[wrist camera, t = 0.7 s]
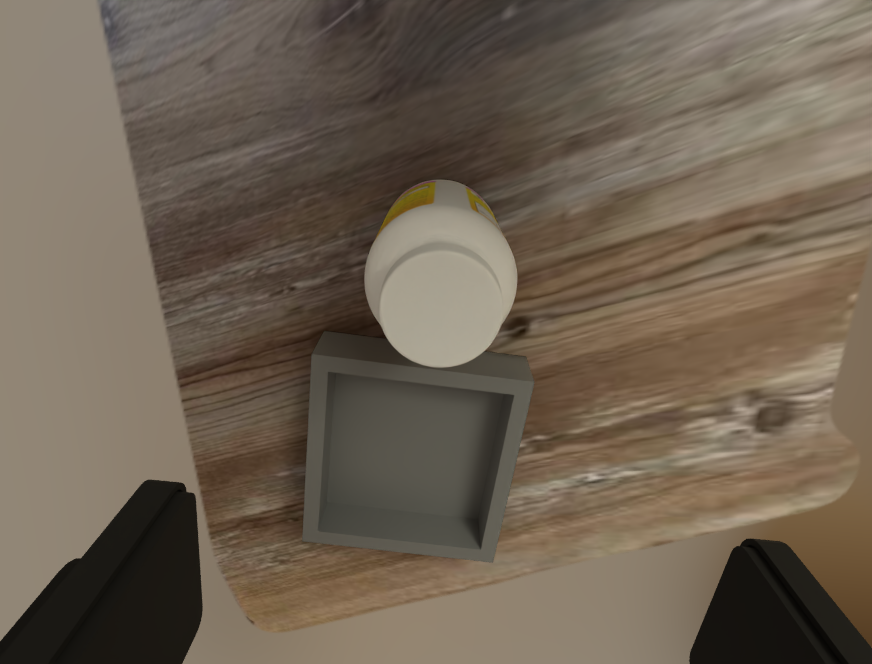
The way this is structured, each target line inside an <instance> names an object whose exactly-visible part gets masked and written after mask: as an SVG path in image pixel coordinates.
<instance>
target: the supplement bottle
mask: <svg viewBox="0 0 872 664" xmlns="http://www.w3.org/2000/svg"><path fill="white" fill-rule="evenodd" d="M364 282H365V293H366V297H367V300H368V304H369V306H370V309H371V311H372V313H373V315H374V317H375V318H376V320H377V321H378V322H379V324H380V325H381V327H382V329H383V332H384V334H385V336H386V338H387V339H388V341H389V342H390V343H391V345H392V346H393V347H394V348H395V349H396V350H397V351H398V352H399V353H400V354H402V355H403V356H405V357H406V358H408V359H409V360H411V361H413V362H416V363H418V364H421V365H424V366H429V367H439V368H443V367H452V366H457V365H461V364H464V363H466V362H469V361H471V360H473V359H474V358H476V357H477V356H479V355H480V354H481V353H483V352H484V351H485V350H486V349H487V348H488V347H489V346H490V344H491V343H492V342H493V340H494V339H495V337H496V335H497V334H498V331H499V329H500V327H501V324H502V323H503V322H504V320H505V319H506V317H507V316H508V314H509V312H510V310H511V307H512V305H513V302H514V298H515V295H516V289H517V269H516V263H515V259H514V256H513V254H512V251H511V248H510V246H509V244H508V242H507V240H506V238H505V237H504V235H503V233H502V231H501V228H500V227H499V225H498V223H497V221H496V219H495V217H494V214H493V213H492V211H491V209H490V207H489V206H488V205H487V203H486V202H485V201H484V200H483V198H482V197H481V196H480V195H479V194H477V193H476V192H475V191H474V190H472V189H471V188H469V187H467V186H466V185H463V184H461V183H458V182H455V181H451V180H430V181H425V182H422V183H419V184H417V185H415V186H413V187H411V188H409V189H408V190H406V191H405V192H404V193H403V194H402V195H400V197H399V198H398V199H397V200H396V201H395V202H394V204H393V205H392V207H391V208H390V210H389V212H388V213H387V215H386V217H385V220H384V222H383V224H382V226H381V228H380V230H379V232H378V234H377V236H376V239H375V241H374V243H373V245H372V247H371V249H370V252H369V254H368V258H367V261H366V266H365V276H364Z"/></svg>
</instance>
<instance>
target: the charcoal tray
mask: <svg viewBox="0 0 872 664" xmlns="http://www.w3.org/2000/svg"><path fill="white" fill-rule="evenodd" d="M533 386H534V379H533V376H532V373H531V370H530V367H529V364H528V361H527V358H526V357H525V356H517V355H509V354H501V353H493V352H486V351H484V352H483V353H481V354H480V355H479V356H477V357H476V358H474V359H473V360H471V361H469V362H466V363H464V364H461V365H457V366H452V367H443V368H439V367H429V366H424V365H421V364H418V363H416V362H413V361H411V360H409V359H408V358H406V357H405V356H403V355H402V354H400V353H399V352H398V351H397V350H396V349H395V348H394V347H393V346H392V345H391V343H390V342H389V341H388V339H384V338H376V337H368V336H360V335H352V334H344V333H337V332H329V331H324V332H323V334H322V336H321V338H320V339H319V341H318V343H317V345H316V347H315V349H314V351H313V352H312V356H311V376H310V397H309V417H308V437H307V457H306V477H305V497H304V517H303V537H302V541H305V542H314V543H322V544H331V545H340V546H349V547H358V548H367V549H376V550H385V551H394V552H403V553H412V554H421V555H430V556H438V557H447V558H456V559H465V560H474V561H483V562H492V563H493V560H494V556H495V551H496V547H497V543H498V538H499V534H500V530H501V525H502V521H503V517H504V512H505V508H506V504H507V499H508V495H509V491H510V486H511V482H512V478H513V473H514V469H515V464H516V460H517V456H518V451H519V447H520V443H521V438H522V434H523V430H524V425H525V421H526V417H527V412H528V408H529V404H530V399H531V395H532V391H533Z"/></svg>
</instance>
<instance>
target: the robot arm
mask: <svg viewBox="0 0 872 664" xmlns="http://www.w3.org/2000/svg"><path fill="white" fill-rule="evenodd" d="M201 617H202V592H201V575H200V559H199V544H198V528H197V512H196V498H195V495H194V493H188V492H186V487H185V485H184V484H183V483H179V482H169V481H159V480H147V481H145V482H144V483H143V484H141V486H140V487H139V488H138V489H137V490H136V492H135V493H134V494H133V496H132V497H131V498H130V499H129V500H128V502H127V503H126V504H125V505H124V507H123V508H122V509H121V510H120V511H119V513H118V514H117V515H116V516H115V517H114V519H113V520H112V521H111V522H110V524H109V525H108V526H107V527H106V529H105V530H104V531H103V532H102V533H101V535H100V536H99V537H98V538H97V540H96V541H95V542H94V543H93V544H92V546H91V547H90V548H89V549H88V551H87V552H86V553H85V554H84V556H83V557H82V558H81V559H74V560H72V561H70V562H69V563H67V564H66V565H65V566H64V567H63V568H62V569H61V570H60V571H59V572H58V573H57V575H56V576H55V577H54V578H53V579H52V580H51V582H50V583H49V584H48V585H47V586H46V588H45V589H44V590H43V591H42V592H41V594H40V595H39V596H38V597H37V598H36V600H35V601H34V602H33V603H32V604H31V605H30V607H29V608H28V609H27V610H26V611H25V613H24V614H23V615H22V616H21V617H20V619H19V620H18V621H17V622H16V623H15V625H14V626H13V627H12V628H11V629H10V631H9V632H8V633H7V634H6V635H5V636H4V638H3V639H2V640H1V641H0V664H182V663H183V661H184V659H185V656H186V654H187V652H188V650H189V648H190V646H191V644H192V642H193V639H194V637H195V635H196V633H197V631H198V628H199V625H200V622H201ZM689 661H690V664H872V648H871V647H870V645H869V644H868V643H867V642H866V640H865V639H864V638H863V637H862V635H861V634H860V633H859V632H858V631H857V629H856V628H855V627H854V626H853V624H852V623H851V622H850V621H849V620H848V618H847V617H846V616H845V614H844V613H843V612H842V611H841V610H840V608H839V607H838V606H837V605H836V603H835V602H834V601H833V600H832V598H831V597H830V596H829V595H828V594H827V592H826V591H825V590H824V589H823V587H822V586H821V585H820V584H819V582H818V581H817V580H816V579H815V578H814V576H813V575H812V574H811V573H810V571H809V570H808V569H807V568H806V566H805V565H804V564H803V563H802V562H801V560H800V559H799V558H798V557H797V555H796V554H795V553H794V552H793V550H792V549H791V548H790V547H789V546H788V545H787V544H785V543H783V542H780V541H770V540H760V539H746V540H744V541H743V542H742V543H741V545H740V546H737V547H735V548H734V549H733V550H732V552H731V554H730V557H729V559H728V562H727V564H726V566H725V569H724V571H723V574H722V576H721V579H720V581H719V583H718V586H717V588H716V591H715V593H714V596H713V598H712V601H711V603H710V606H709V608H708V610H707V613H706V615H705V618H704V620H703V622H702V625H701V627H700V630H699V632H698V635H697V637H696V640H695V642H694V644H693V647H692V649H691V652H690V660H689Z"/></svg>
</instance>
